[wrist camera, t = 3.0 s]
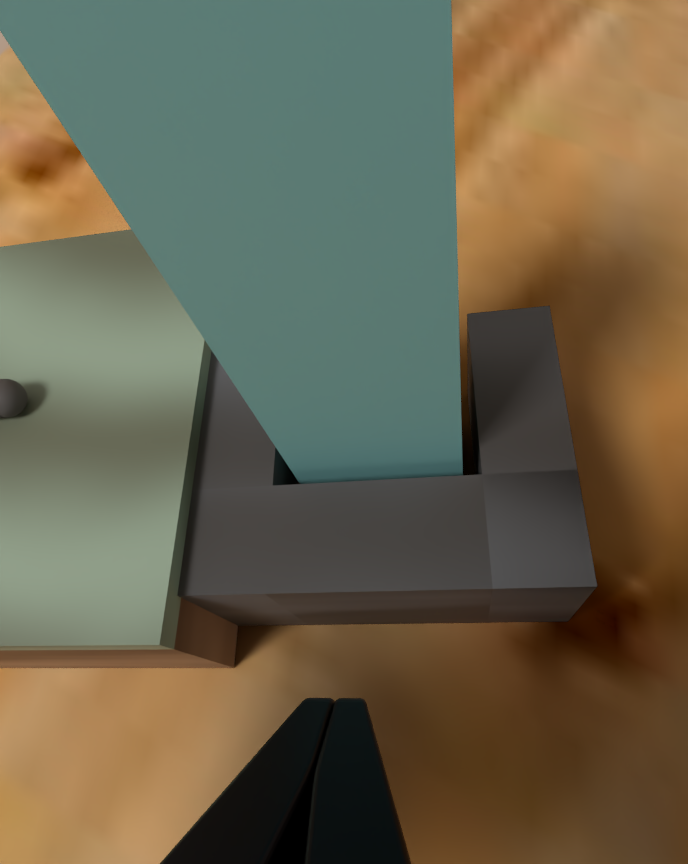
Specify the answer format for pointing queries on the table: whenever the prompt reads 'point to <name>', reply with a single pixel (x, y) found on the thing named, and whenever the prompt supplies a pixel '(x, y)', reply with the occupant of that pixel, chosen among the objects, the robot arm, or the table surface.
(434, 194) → the teal rectangular block
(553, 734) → the table surface
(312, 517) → the toolbox
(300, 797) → the robot arm
